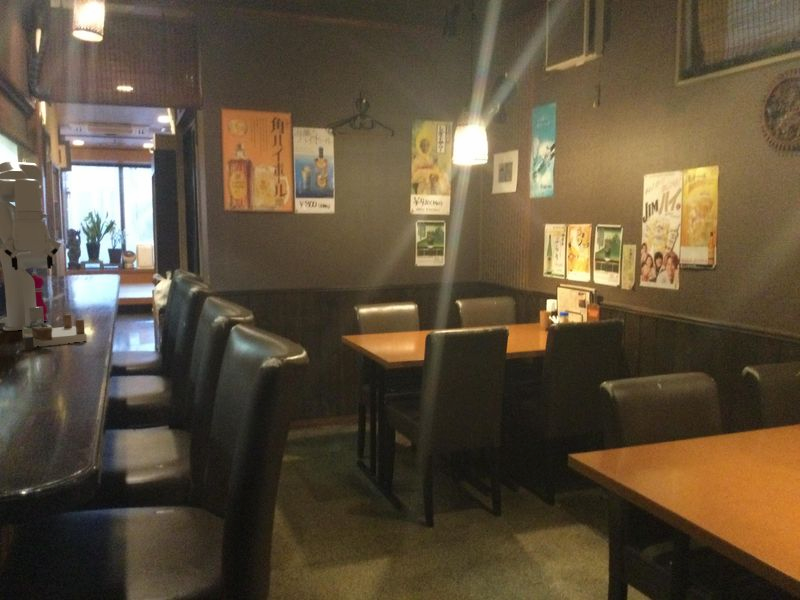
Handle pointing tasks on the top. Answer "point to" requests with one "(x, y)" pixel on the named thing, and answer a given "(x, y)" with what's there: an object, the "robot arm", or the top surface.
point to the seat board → (56, 334)
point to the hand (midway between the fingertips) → (32, 269)
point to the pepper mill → (39, 293)
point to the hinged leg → (42, 333)
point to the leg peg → (36, 316)
